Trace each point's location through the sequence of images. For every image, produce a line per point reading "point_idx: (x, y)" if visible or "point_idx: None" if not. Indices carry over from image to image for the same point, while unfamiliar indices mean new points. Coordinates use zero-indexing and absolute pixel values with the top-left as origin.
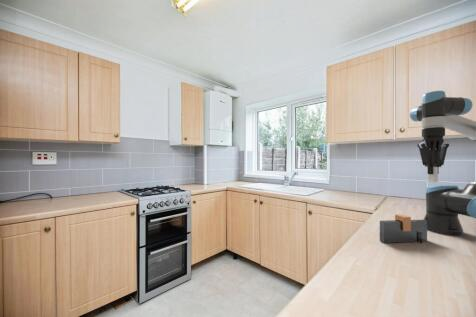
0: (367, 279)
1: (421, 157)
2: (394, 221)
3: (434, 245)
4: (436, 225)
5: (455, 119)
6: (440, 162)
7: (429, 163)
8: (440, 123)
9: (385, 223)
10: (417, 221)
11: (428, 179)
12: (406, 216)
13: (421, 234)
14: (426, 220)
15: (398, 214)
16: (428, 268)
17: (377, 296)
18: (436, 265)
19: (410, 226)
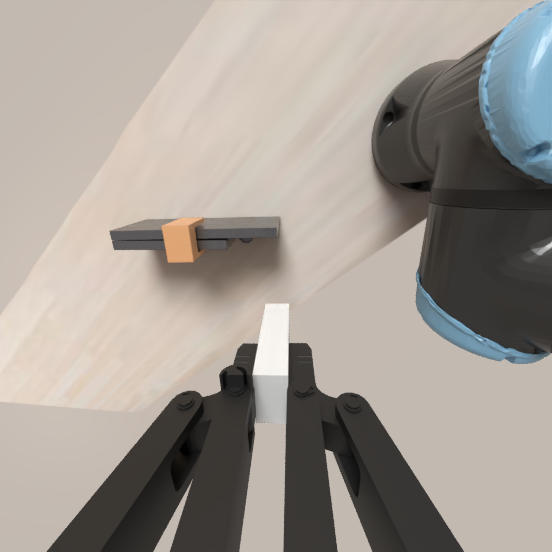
0: (50, 356)
1: (106, 484)
2: (153, 243)
3: (271, 252)
4: (387, 159)
5: None
6: (340, 460)
7: (192, 454)
8: None
9: (121, 248)
10: (240, 237)
11: (264, 311)
12: (184, 253)
13: (247, 242)
14: (274, 236)
15: (174, 225)
16: (166, 339)
17: (50, 386)
18: (188, 331)
19: (202, 252)
